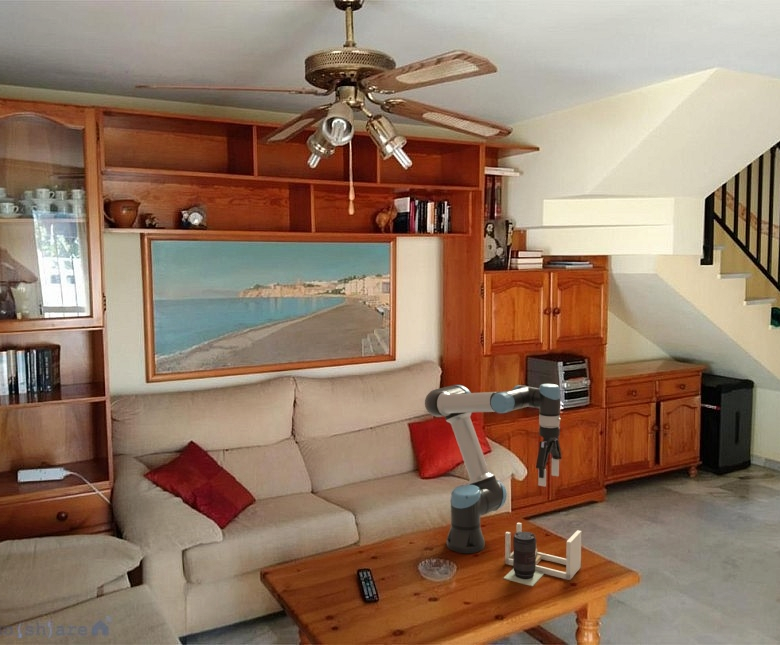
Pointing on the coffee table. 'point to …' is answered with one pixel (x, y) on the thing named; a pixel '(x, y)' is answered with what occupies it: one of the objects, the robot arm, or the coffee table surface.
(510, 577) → the mat
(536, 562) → the plate
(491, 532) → the coffee table surface
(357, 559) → the coffee table surface
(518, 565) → the camera lens
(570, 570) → the rack
